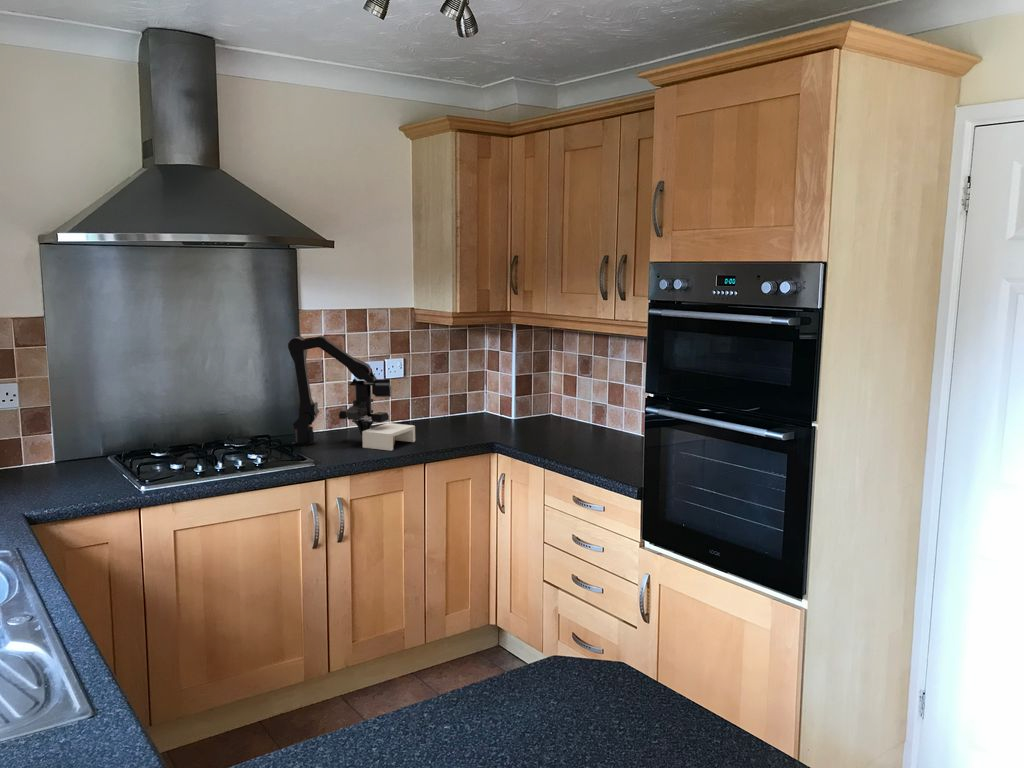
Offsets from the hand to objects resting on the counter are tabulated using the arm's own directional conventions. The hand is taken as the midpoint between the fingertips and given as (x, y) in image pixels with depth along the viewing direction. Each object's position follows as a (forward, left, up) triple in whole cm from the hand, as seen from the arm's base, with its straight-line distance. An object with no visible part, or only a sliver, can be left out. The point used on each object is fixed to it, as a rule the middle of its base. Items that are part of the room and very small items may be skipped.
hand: (364, 438), depth 310 cm
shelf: (+10, +1, -2) cm, 10 cm away
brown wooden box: (+6, 0, -2) cm, 7 cm away
